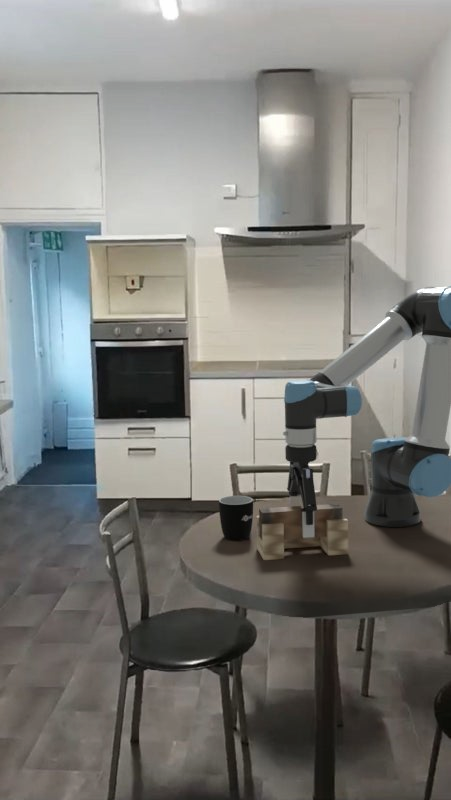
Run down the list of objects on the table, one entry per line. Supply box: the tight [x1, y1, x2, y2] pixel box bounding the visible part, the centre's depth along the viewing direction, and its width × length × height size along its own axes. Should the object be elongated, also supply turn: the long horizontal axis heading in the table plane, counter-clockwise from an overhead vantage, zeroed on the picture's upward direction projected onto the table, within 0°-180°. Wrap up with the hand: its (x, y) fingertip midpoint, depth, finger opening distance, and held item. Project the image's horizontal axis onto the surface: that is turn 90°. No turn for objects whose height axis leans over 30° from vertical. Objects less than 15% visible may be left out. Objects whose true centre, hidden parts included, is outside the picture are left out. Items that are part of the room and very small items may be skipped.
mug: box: [218, 495, 254, 542], centre depth 213 cm, size 12×9×10 cm
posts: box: [255, 515, 349, 561], centre depth 199 cm, size 21×9×8 cm, turn 98°
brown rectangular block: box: [258, 503, 343, 539], centre depth 199 cm, size 20×4×7 cm, turn 98°
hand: (301, 529), depth 199 cm, fingers open, 13 cm apart
